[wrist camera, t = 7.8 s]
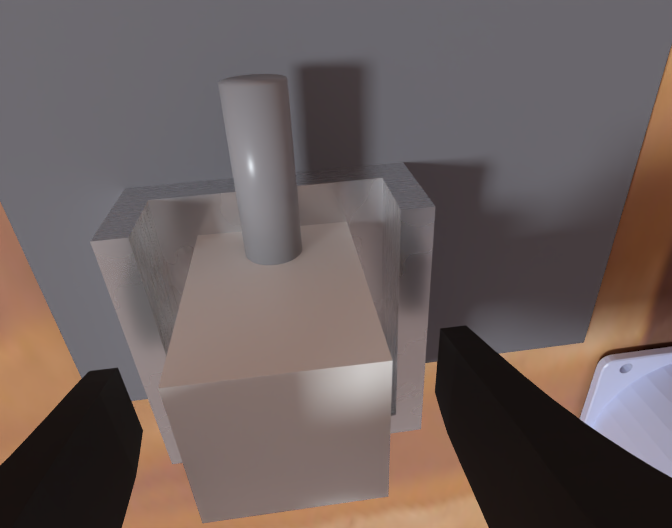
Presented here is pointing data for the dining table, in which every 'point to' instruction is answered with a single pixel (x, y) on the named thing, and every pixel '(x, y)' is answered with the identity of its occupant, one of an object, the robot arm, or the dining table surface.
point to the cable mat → (341, 136)
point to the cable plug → (276, 341)
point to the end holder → (223, 217)
